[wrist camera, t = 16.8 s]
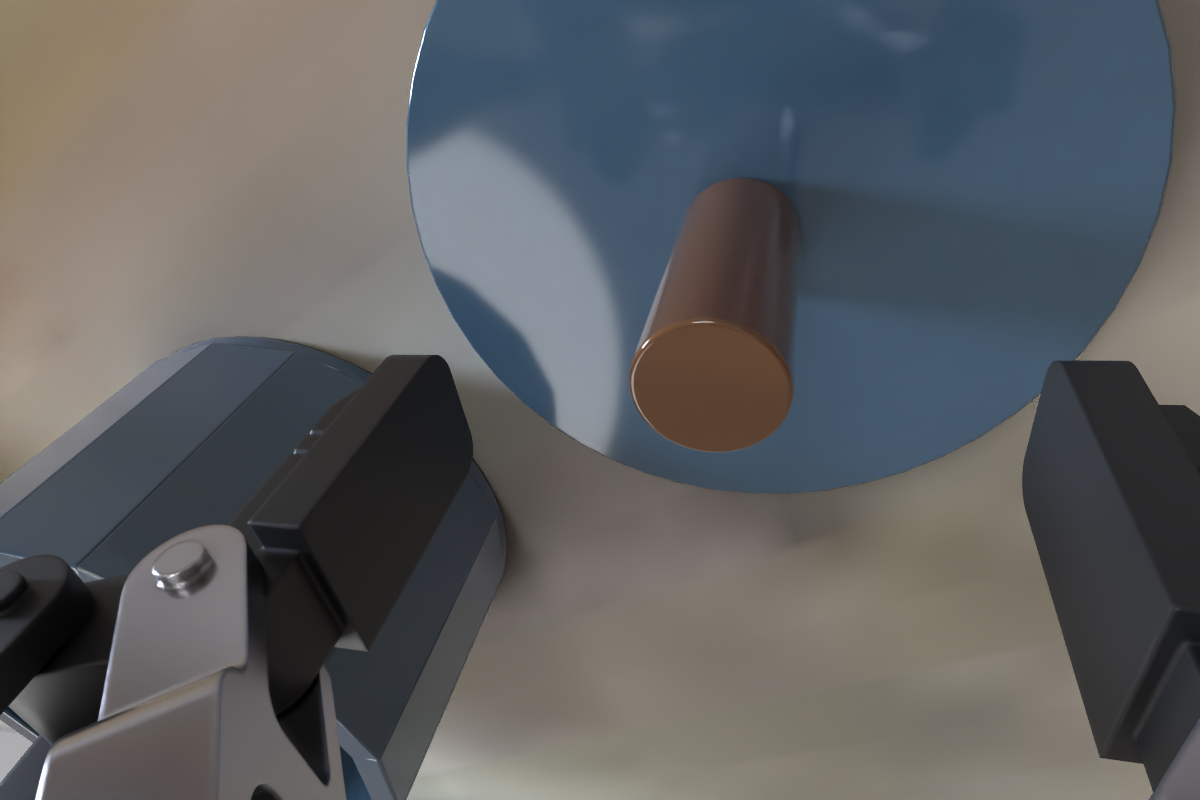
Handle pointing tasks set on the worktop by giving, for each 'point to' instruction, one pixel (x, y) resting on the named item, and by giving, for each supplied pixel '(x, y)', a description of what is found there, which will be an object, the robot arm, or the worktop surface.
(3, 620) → the robot arm
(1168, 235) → the worktop surface
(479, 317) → the lid
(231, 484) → the pot
